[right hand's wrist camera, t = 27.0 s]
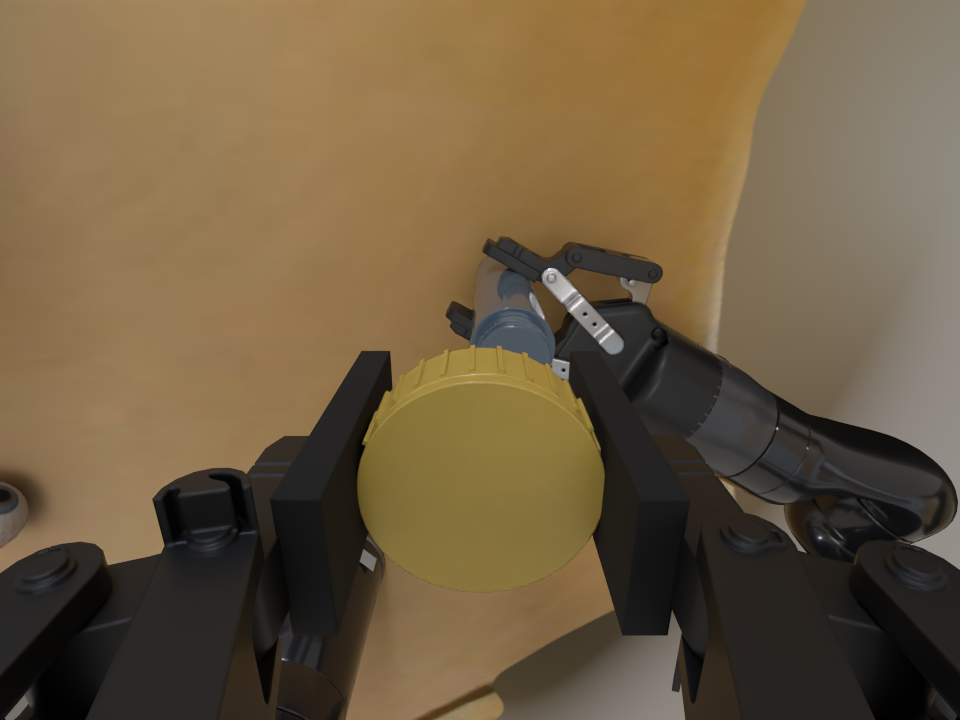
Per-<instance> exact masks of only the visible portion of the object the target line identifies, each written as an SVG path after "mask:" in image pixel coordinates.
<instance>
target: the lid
mask: <svg viewBox="0 0 960 720" xmlns="http://www.w3.org/2000/svg"><path fill="white" fill-rule="evenodd" d="M593 430H594V428H593V425H592V423H591V420H590V418H589V416H588V413H587V411H586V409H585V406H584V404H583V402H582V400H581V398H579V399H576V397H575V395H574V394H573V391H572V389H571V386H570V384H569V382H568V381H567V379H565V380H562V379H561V378H560V377H559V376H558V375H556V374H555V373H554V372H552V370H551V367H550V365H549V364H547V363H546V364H545V365H542V364H541V363H539V362H537V361H535V360H533V359H531V358H529V357H528V354H527V353H525V352H523V353H522V355H521V354H518V353H515V352H511V351H507V350H502V346H497V348H496V349H494V348H475V345H470V348H469V349H460V350H456V351H452V352H450V351H449V349H447V350H444V353H443V354H441V355H439V356H436V357H434V358H431V359H429V360H427V361H426V360H425V359H422V360H420V363H419V365H418V366H417V367H415V368H414V369H413V370H411V371H410V372H409V373H407V374H406V375H405V374H404V373H402V374H401V375H400V377H399V379H398V382H397V384H396V385H395V386H394V388H393V389H392V390H391V391H390V392H388V391H386V392H385V394H384V396H383V398H382V401H381V403H380V406H379V408H378V411H375V414H374V416H373V418H372V421H371V423H370V426H369V428H368V430H367V433H366V435H365V438H364V440H363V443H362V445H364V446H366V447H365V449H364V452H363V454H362V457H361V459H360V464H359V468H358V472H357V495H358V504H359V509H360V513H361V516H362V518H363V521H364V523H365V526H366V528H367V530H368V532H369V533H370V535H371V537H372V538H373V540H374V541H375V543H376V544H377V545H378V546H379V548H380V549H381V550H382V551H383V552H384V553H385V554H386V555H387V556H388V557H389V558H390V559H391V560H392V561H393V562H394V563H396V564H397V565H398V566H400V567H401V568H402V569H403V570H405V571H407V572H408V573H410V574H412V575H413V576H415V577H417V578H419V579H422V580H424V581H426V582H428V583H431V584H434V585H437V586H440V587H443V588H448V589H452V590H457V591H465V592H497V591H505V590H510V589H515V588H519V587H522V586H525V585H529V584H532V583H534V582H536V581H539V580H541V579H543V578H545V577H547V576H549V575H551V574H552V573H554V572H556V571H558V570H559V569H560V568H562V567H563V566H564V565H566V564H567V563H568V562H570V561H571V560H572V559H573V558H574V557H575V556H576V555H577V554H578V553H579V552H580V551H581V550H582V548H583V547H584V546H585V545H586V543H587V542H588V541H589V539H590V538H591V536H592V534H593V533H594V531H595V529H596V527H597V525H598V522H599V520H600V518H601V510H602V500H603V490H604V479H605V470H604V465H603V461H602V458H601V455H600V454H601V448H600V446H599V443H598V441H597V438H596V436H595V434H594V431H593Z"/></svg>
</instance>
